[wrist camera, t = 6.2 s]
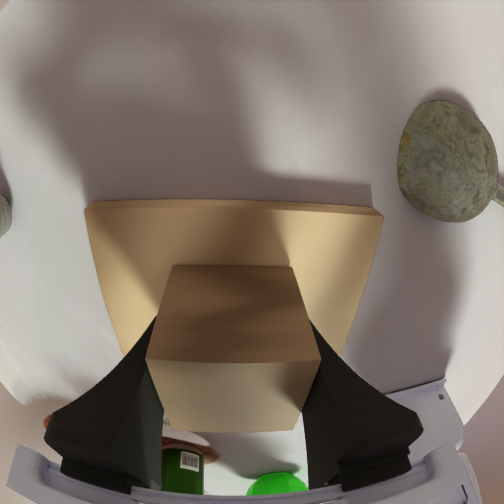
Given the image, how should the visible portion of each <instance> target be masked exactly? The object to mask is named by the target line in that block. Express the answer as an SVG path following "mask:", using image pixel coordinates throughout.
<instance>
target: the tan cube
mask: <svg viewBox="0 0 504 504" xmlns="http://www.w3.org/2000/svg"><path fill="white" fill-rule="evenodd" d="M145 360H146V363H147V366H148V369H149V371H150V374H151V377H152V380H153V382H154V385H155V388H156V390H157V393H158V396H159V398H160V401H161V403H162V406H163V408H164V411H165V413H166V415H167V418H168V420H169V422H170V425H171V427H172V429H173V430H180V431H194V432H218V433H248V432H272V431H285V430H293V429H294V427H295V424H296V422H297V420H298V417H299V415H300V413H301V410H302V408H303V406H304V403H305V401H306V399H307V396H308V394H309V391H310V389H311V386H312V384H313V381H314V378H315V376H316V373H317V371H318V368H319V365H320V362H321V356H320V353H319V350H318V347H317V343H316V340H315V337H314V333H313V330H312V327H311V324H310V321H309V317H308V314H307V311H306V308H305V305H304V302H303V298H302V295H301V292H300V289H299V286H298V283H297V280H296V277H295V274H294V271H293V268H292V267H270V266H207V265H172V268H171V271H170V274H169V277H168V281H167V284H166V287H165V290H164V293H163V297H162V300H161V303H160V307H159V310H158V314H157V317H156V320H155V324H154V328H153V331H152V335H151V338H150V342H149V346H148V350H147V353H146V357H145Z"/></svg>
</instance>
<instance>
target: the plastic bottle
mask: <svg viewBox="0 0 504 504" xmlns="http://www.w3.org/2000/svg"><path fill="white" fill-rule="evenodd" d="M304 490H308V488H307V486H306V485H305V483H304V482H302V481H301V480H300V479H299V478H297V477H295V476H293V475H292V474H290V473H287V472H279V473H270V474H266V475H262V476H261V477H259V479H258V480H257V481H256V482H255V483H254V484H252V485H251V486H250V488H249V489H248V491H247V494H246V496H249V495H268V494H280V493H289V492H297V491H304Z"/></svg>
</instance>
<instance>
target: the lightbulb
mask: <svg viewBox="0 0 504 504" xmlns="http://www.w3.org/2000/svg"><path fill="white" fill-rule="evenodd" d="M11 221H12V214H11V209H10V206H9V204H8V202H7V200H6V199H5V198H4V197H3V196H2V195H0V238H1V237H2V236H3V235H4V234H5V233H6V232H7V231H8V230H9V228H10V226H11Z"/></svg>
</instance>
